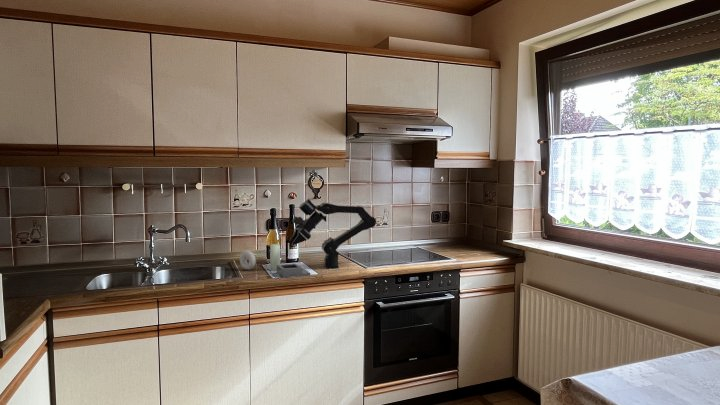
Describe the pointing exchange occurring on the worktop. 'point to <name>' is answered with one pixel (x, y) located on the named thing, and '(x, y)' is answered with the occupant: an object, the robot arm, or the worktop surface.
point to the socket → (291, 270)
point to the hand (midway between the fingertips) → (291, 243)
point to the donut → (244, 263)
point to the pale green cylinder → (274, 256)
